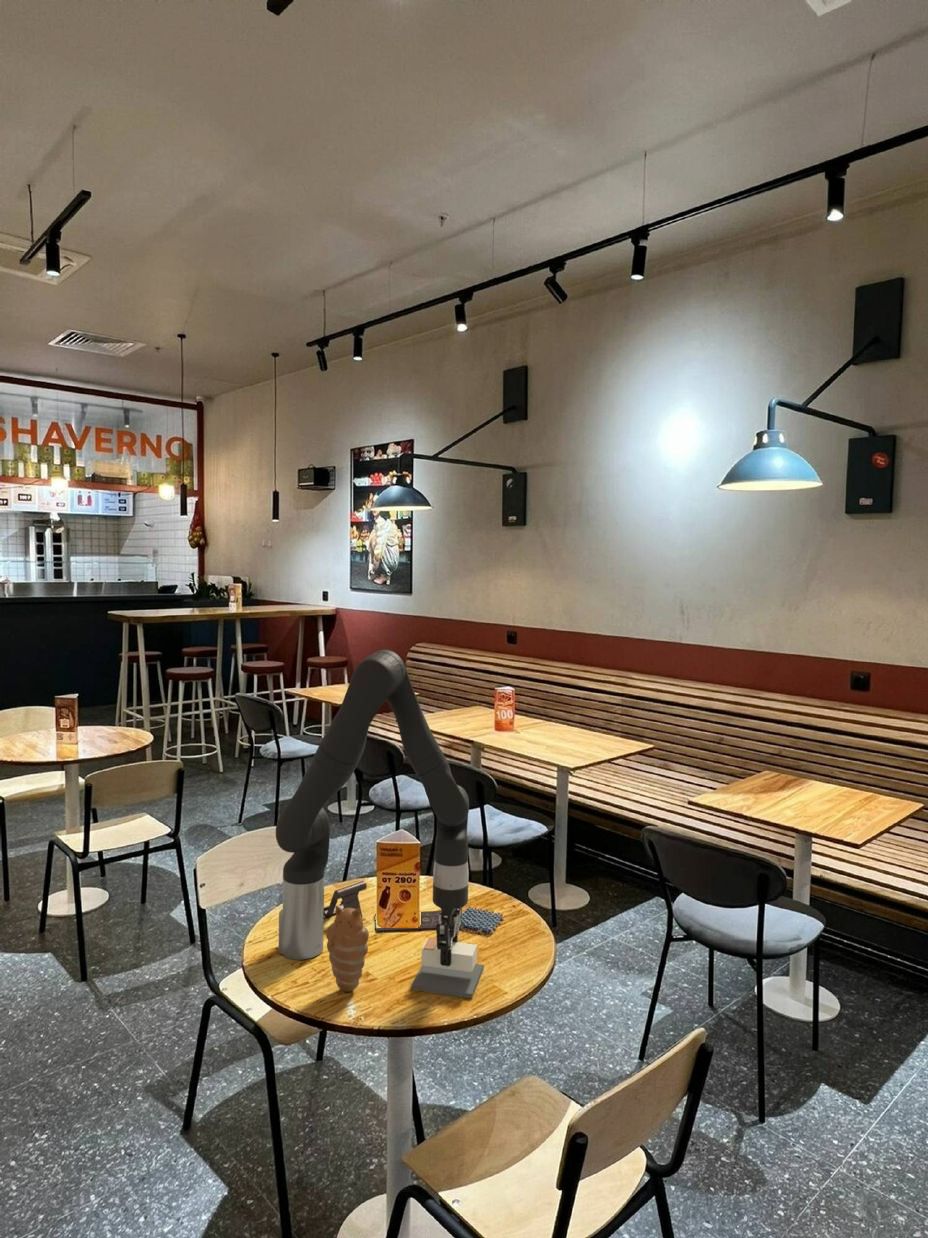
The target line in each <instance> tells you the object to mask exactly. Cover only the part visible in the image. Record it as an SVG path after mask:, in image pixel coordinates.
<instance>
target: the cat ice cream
mask: <svg viewBox="0 0 928 1238" xmlns="http://www.w3.org/2000/svg"><path fill="white" fill-rule="evenodd" d="M360 912H362V909H361V907H360V908H358V909H354V908H345V909H341V908H340V907H338V906H337V905H336V914H335V915H336V916H335V918H334V921H333V922H332V923H331V924H330V925H329V926H328V927H327V929H326V931H325V936H326V939H327V942H326V948H327V952H328V953H329V955H328V959H329V961H330V964H331V972H332V974H333V977H335V983H336V985H337V988H338V989H339V990H341V991H342V992H347V993H349V992H352V991H354V990H355V989H357V987H358V986H359V984H360V979H361V977H362V975H363V968H364V967H365V961H366V959H365V956H366V955H367V954H368V952H369V951H368V950H369V947H368V944H367V943H368V941H369V937H370V933H369V930H368V928H367V927H365V924H364V920H363V917H361V914H360Z"/></svg>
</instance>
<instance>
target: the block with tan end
mask: <svg viewBox="0 0 928 1238" xmlns="http://www.w3.org/2000/svg"><path fill="white" fill-rule="evenodd" d="M443 942H445V941H443ZM445 943H446V942H445ZM440 954H441V950H440V949H437V938H434V937H432V938H431V937H428V938H427V939H426V941H425V943H424V944H423V946H422V948H421V962H420V963H421V964H420V965H421V966H422V965H423V966H430V967H437V968H445V969H452V970H459V971H467V972H472V971H473V969H474V966H475V964H477V961H478V944H474V943H467V942H459V941H458V942H452V952H451V965H450V966H443V965H441V964H440Z"/></svg>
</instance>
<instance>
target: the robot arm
mask: <svg viewBox="0 0 928 1238" xmlns="http://www.w3.org/2000/svg"><path fill="white" fill-rule="evenodd" d="M345 692H346V693H345V694H344V697H343V700H342V702H341V705H340V707H339V710H338V711H337V713H336V714H335V716H334V718H333V719H332V721H331V722H330V724H329V726H328V728H327V730H326V732H325V734H324V736H323V737H322V739H321V740H320V743H319V745H318V747H317V748H316V751H315V753H314V755H313V758H312V759H311V762H310V764H309V766H308V768H307V769H306V771H305V774H304V776H303V778H302V779H301V781H300V784H299V786H298V787H297V789H296V791H295V793H294V794H293V796H292V797H291V799H290V800H289V802H288V804H286V806H285V808H284V809H283V810H282V813H281V814H280V816H279V817H278V820H277V823H276V825H275V839H276V842H277V843H276V844H278V846H279V848H280V849H281V850H283V851H284V852H287V853H292V855H290V856H291V857H289V858H288V860H286V862H285V863H284V864H283V868H282V909H281V910H279V912H278V946H277V947H278V951H277V952H278V954H281V955H283V956H285V957H286V958H288V959H291V960H299V961H300V960H301V961H302V960H308V959H312V958H315V957H317V956H319V955H320V954H321V953H322V952H323V951H324V928H325V927H324V926H325V925H324V923H325V921H324V920H325V919H324V918H325V917H324V907H325V869H326V867H327V864H328V863H329V852H330V840H331V839H330V837H331V825H330V820H329V819H330V818H329V816H328V813H327V811H326V810H325V809H324V807H325V805H326V804H327V803H328V802H329V801H330V800H331V799H332V798H333V797H334V796H335V795H336V794H337V793H338V792H339V791H340V790H341V788H343V787H344V785H345V784H347V782H348V781H349V779H350V778H351V777H352V775H353V774H354V772H355V770H356V768H357V766H358V764H359V762H360V760H361V759H362V756H363V753H364V751H365V748H366V744H367V738H368V734H369V733H368V732H369V730H370V729H369V728H370V726H371V724H372V722H373V719H374V718H375V717H376V715H377V714H378V711H379V710H381V709H380V708H382V705H383V704H384V703H385V702H387V703H388V704H389V706H390V708H391V710H392V713H393V715H394V717H395V720H396V723H397V724H396V725H397V727H398V731H399V735H400V739H401V740H400V741H401V744H402V746H403V751H404V753H405V756H406V758H407V759H408V762H409V763H410V765H411V767H412V768H413V769H412V770H413V771H414V772H415V774H416V776H417V778H418V780H419V781H420V782H421V784H422V786H423V788H424V792H425V794H426V797H427V799H428V801H429V804H430V806H431V808H432V810H433V812H434V814H435V816H436V835H435V842H434V863H433V869H432V902H433V904H434V905H435V906H436V907H438V908H439V909H440V911H441V913H439V924H437V925H436V933H435V934H436V939H437V949H440V950H441V954H440V964H441V965H443V966H450V965H451V952H452V942H459V941H458V940H459V939H458V938H459V937H458V936H459V935H460V928H461V919H462V913H463V907H465V906H466V905H467V904H468V901H469V876H470V875H469V874H470V872H469V862H468V861H469V860H468V859H469V842H468V841H469V840H468V822H469V821H468V820H469V812H470V799H469V795H468V793H467V791H466V790H465V789H464V788H463V787H462V786H461V785H458V784H457V783H456V780H455V778H454V777H453V775H452V771H451V767H450V763H449V762H448V760H447V758H446V756H445V754H444V752H443V750H442V749H441V747H440V745H439V743H438V742H437V739H436V738H435V736H434V734H433V732H432V730H431V728H430V726H429V724H428V721H427V720H426V717H425V715H424V712H423V710H422V708H421V704H420V703H419V700H418V698H417V696H416V693H415V690H414V688H413V685H412V681H411V678H410V675H409V673H408V669H407V668H406V666H405V663H404V661H403V659H402V658H401V657H400V656H399V655H398V654H397V653H396V652H394V651H392V650H389V649H381V650H377V651H375V652H373V653H372V654H370V655H368V656H367V657H365V658H364V659H362V660H361V661H360V662H359V663H358V664H357V665H356V667H355V669H354V670H353V672H352V676H351V678H350V681H349V683H348V687H347V690H346V691H345ZM443 941H445V942H446V943H445V942H443Z"/></svg>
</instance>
